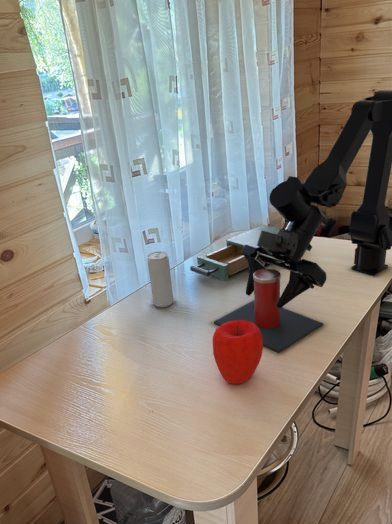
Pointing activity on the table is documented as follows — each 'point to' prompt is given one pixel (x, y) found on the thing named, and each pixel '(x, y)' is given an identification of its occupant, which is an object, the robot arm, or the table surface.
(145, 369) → the table surface
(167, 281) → the beverage can
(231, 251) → the drawer
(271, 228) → the cabinet
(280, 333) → the mat
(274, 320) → the tea tin
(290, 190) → the robot arm
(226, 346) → the apple
